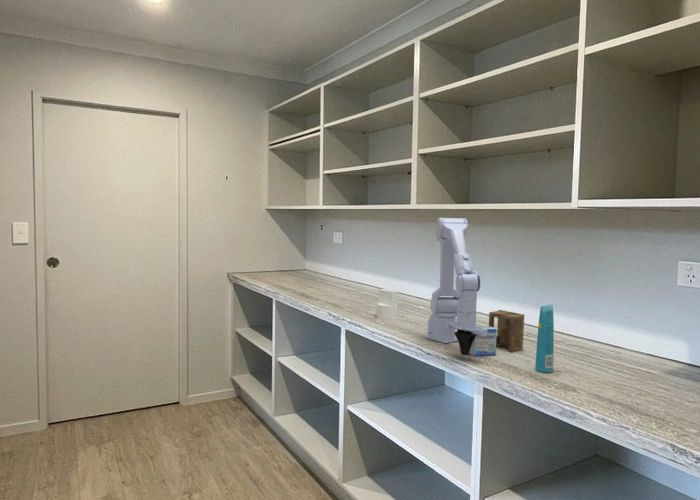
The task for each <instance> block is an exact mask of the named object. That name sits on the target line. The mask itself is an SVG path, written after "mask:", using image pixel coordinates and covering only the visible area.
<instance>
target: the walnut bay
mask: <svg viewBox="0 0 700 500" xmlns="http://www.w3.org/2000/svg"><path fill="white" fill-rule="evenodd" d="M495 317H496V318H497V328H496V329H497V336H496V347H497V346H502V347H506V348H508V352H509V353H515V352H519V351H522V350H524V331H525V330H524V329H525V314H524V313H518V312H513V311H507V310H503V309H498V310H495V311H490V312H489V313H488V327H493V328H495Z"/></svg>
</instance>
